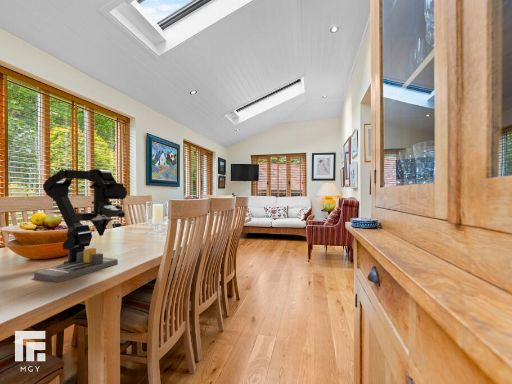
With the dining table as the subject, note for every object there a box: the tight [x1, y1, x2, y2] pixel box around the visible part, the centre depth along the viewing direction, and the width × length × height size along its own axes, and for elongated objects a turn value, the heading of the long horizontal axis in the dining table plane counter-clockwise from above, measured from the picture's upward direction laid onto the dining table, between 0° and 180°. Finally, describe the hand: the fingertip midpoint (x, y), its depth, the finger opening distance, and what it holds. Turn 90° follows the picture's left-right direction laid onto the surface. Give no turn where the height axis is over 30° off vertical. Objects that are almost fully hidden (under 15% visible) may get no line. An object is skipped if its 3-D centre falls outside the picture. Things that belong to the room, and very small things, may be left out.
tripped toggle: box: [84, 247, 97, 263], centre depth 103 cm, size 3×3×5 cm
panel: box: [33, 251, 119, 283], centre depth 99 cm, size 12×24×6 cm, turn 160°
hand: (101, 235), depth 109 cm, fingers closed
